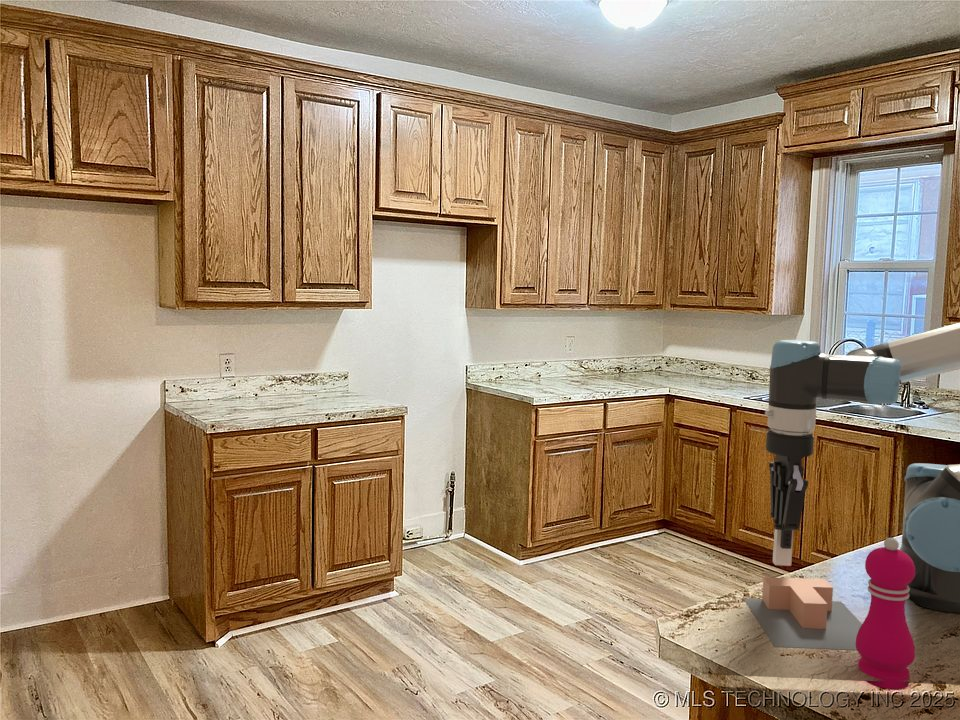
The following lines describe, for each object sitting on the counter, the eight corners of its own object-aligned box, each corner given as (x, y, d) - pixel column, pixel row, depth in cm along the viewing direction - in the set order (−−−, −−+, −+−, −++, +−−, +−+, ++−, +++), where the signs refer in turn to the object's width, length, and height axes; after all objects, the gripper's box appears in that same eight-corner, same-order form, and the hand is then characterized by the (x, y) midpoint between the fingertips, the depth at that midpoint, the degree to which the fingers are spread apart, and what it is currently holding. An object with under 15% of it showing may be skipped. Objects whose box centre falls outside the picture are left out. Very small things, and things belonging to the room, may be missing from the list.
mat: (840, 608, 126) (840, 601, 126) (887, 658, 109) (887, 651, 109) (742, 604, 127) (743, 598, 127) (774, 654, 110) (774, 646, 110)
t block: (823, 602, 126) (824, 579, 125) (848, 629, 116) (849, 604, 115) (762, 600, 126) (763, 577, 126) (781, 627, 116) (782, 602, 116)
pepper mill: (888, 696, 99) (897, 550, 97) (842, 670, 106) (849, 533, 104) (925, 685, 102) (935, 542, 100) (878, 660, 109) (886, 526, 106)
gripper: (756, 422, 135) (749, 549, 137) (779, 438, 122) (771, 577, 124) (799, 423, 134) (791, 551, 137) (827, 439, 121) (817, 579, 124)
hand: (781, 563), depth 131 cm, fingers closed
